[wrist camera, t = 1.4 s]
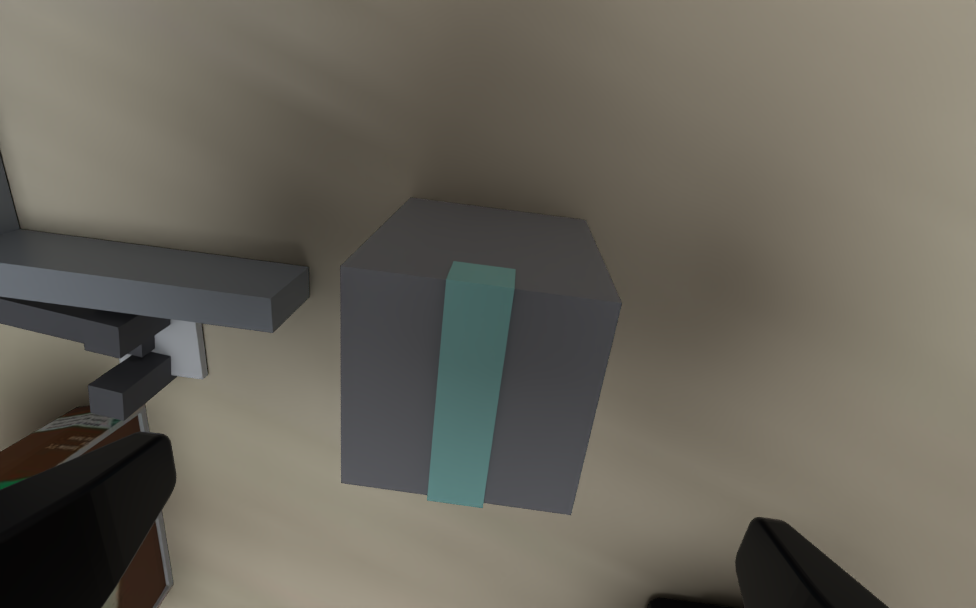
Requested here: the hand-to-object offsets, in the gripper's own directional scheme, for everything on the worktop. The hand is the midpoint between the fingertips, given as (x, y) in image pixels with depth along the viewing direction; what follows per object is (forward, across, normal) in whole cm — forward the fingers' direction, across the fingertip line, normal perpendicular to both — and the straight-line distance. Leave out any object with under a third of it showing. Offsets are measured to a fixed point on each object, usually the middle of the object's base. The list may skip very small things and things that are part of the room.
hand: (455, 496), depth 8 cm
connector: (+8, 0, 0) cm, 8 cm away
